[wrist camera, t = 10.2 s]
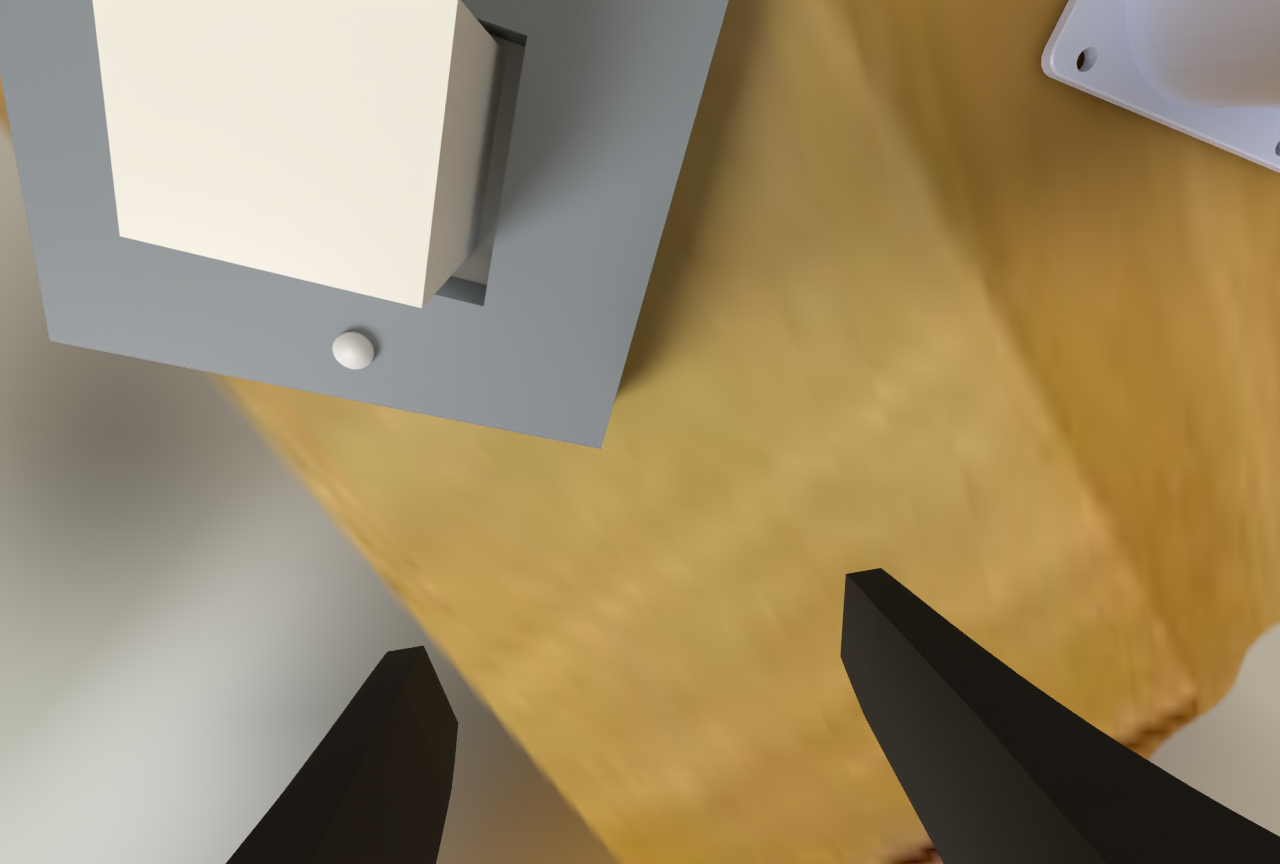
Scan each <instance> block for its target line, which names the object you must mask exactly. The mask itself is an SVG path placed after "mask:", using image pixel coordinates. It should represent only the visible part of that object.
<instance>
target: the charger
mask: <svg viewBox="0 0 1280 864" xmlns="http://www.w3.org/2000/svg"><path fill="white" fill-rule="evenodd" d="M92 1H93V9H94V18H95V27H96V35H97V44H98V52H99V61H100V70H101V78H102V87H103V96H104V104H105V113H106V122H107V130H108V139H109V148H110V156H111V165H112V174H113V182H114V191H115V199H116V208H117V217H118V225H119V234H120V236H121V237H125V238H129V239H134V240H138V241H142V242H146V243H150V244H155V245H159V246H163V247H167V248H171V249H175V250H180V251H184V252H188V253H192V254H196V255H201V256H205V257H209V258H213V259H217V260H222V261H226V262H230V263H234V264H238V265H243V266H247V267H251V268H255V269H259V270H263V271H268V272H272V273H276V274H280V275H284V276H289V277H293V278H297V279H301V280H305V281H310V282H314V283H318V284H322V285H326V286H330V287H335V288H339V289H343V290H347V291H351V292H356V293H360V294H364V295H368V296H372V297H377V298H381V299H385V300H389V301H393V302H398V303H402V304H406V305H410V306H414V307H418V308H423V306H424V305H425V304H426V303H427V302H428V301H429V300H430V299H431V297H432V296H433V295H434V294H435V293H436V292H437V291H438V290H439V289H440V287H441V286H442V285H443V284H444V283H445V282H446V281H447V280H448V279H449V277H450V276H451V275H452V274H453V273H454V272H455V271H456V270H457V269H458V267H459V266H460V265H461V264H462V263H463V262H464V261H465V260H466V259H467V257H468V256H469V255H470V254H471V253H472V252H473V251H474V250H475V249H476V247H477V244H478V237H479V231H480V224H481V217H482V211H483V204H484V198H485V191H486V185H487V178H488V172H489V165H490V159H491V152H492V145H493V139H494V132H495V126H496V119H497V113H498V106H499V100H500V93H501V87H502V80H503V73H504V67H505V60H506V54H505V52H504V51H503V50H502V49H501V48H500V47H499V45H498V44H497V43H496V42H495V41H494V39H493V38H492V37H491V36H490V35H489V33H488V32H487V31H486V30H485V29H484V27H483V26H482V25H481V24H480V23H479V21H478V20H477V19H476V18H475V17H474V15H473V14H472V13H471V12H470V11H469V9H468V8H467V7H466V6H465V5H464V3H463V2H462V1H461V0H92Z"/></svg>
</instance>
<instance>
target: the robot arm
mask: <svg viewBox="0 0 1280 864" xmlns="http://www.w3.org/2000/svg"><path fill="white" fill-rule="evenodd" d="M1082 51H1083V52H1084V56H1085V60H1084V63H1083V65H1082V67H1081V68H1080V69H1079V70H1078V69H1077V64H1076V62H1077V59H1078V56H1079V55H1080V53H1081V52H1082ZM1041 66H1042V69H1043V72H1044V73H1045V74H1046V75H1047V76H1048V77H1050V78H1053V79H1055V80H1057V81H1060V82H1062V83H1065V84H1067V85H1069V86H1072V87H1074V88H1077V89H1079V90H1081V91H1084V92H1086V93H1089V94H1091V95H1093V96H1096V97H1098V98H1101V99H1103V100H1106V101H1108V102H1110V103H1113V104H1115V105H1118V106H1120V107H1122V108H1125V109H1127V110H1130V111H1132V112H1134V113H1137V114H1139V115H1142V116H1144V117H1146V118H1149V119H1151V120H1154V121H1156V122H1158V123H1161V124H1163V125H1166V126H1168V127H1170V128H1173V129H1175V130H1178V131H1180V132H1182V133H1185V134H1187V135H1190V136H1192V137H1194V138H1197V139H1199V140H1202V141H1204V142H1206V143H1209V144H1211V145H1214V146H1216V147H1218V148H1221V149H1223V150H1226V151H1228V152H1230V153H1233V154H1235V155H1238V156H1240V157H1242V158H1245V159H1247V160H1250V161H1252V162H1254V163H1257V164H1259V165H1262V166H1264V167H1266V168H1269V169H1271V170H1274V171H1276V172H1278V173H1280V0H1069V1H1068V3H1067V5H1066V7H1065V9H1064V11H1063V13H1062V15H1061V17H1060V18H1059V20H1058V22H1057V24H1056V26H1055V28H1054V30H1053V32H1052V34H1051V36H1050V38H1049V40H1048V42H1047V44H1046V46H1045V49H1044V52H1043V54H1042V59H1041ZM1278 142H1279V143H1278ZM1277 144H1278V145H1277ZM1276 146H1277V147H1276ZM1275 148H1276V149H1275ZM841 659H842V661H843V664H844V666H845V669H846V672H847V674H848V677H849V679H850V682H851V684H852V687H853V689H854V692H855V694H856V697H857V699H858V701H859V704H860V706H861V709H862V711H863V713H864V716H865V718H866V720H867V721H868V723H869V725H870V727H871V729H872V731H873V733H874V735H875V737H876V739H877V740H878V742H879V744H880V746H881V748H882V750H883V752H884V754H885V755H886V757H887V759H888V761H889V763H890V765H891V767H892V769H893V770H894V772H895V774H896V776H897V778H898V780H899V782H900V783H901V785H902V787H903V789H904V791H905V793H906V794H907V796H908V798H909V800H910V802H911V804H912V806H913V807H914V809H915V811H916V813H917V815H918V817H919V819H920V820H921V822H922V824H923V826H924V828H925V830H926V832H927V833H928V835H929V837H930V839H931V841H932V843H933V845H934V846H935V848H936V850H937V852H938V854H939V856H940V858H941V859H942V861H943V863H944V864H1280V837H1279V836H1277V835H1276V834H1274V833H1272V832H1270V831H1268V830H1266V829H1265V828H1263V827H1261V826H1259V825H1257V824H1256V823H1254V822H1252V821H1250V820H1248V819H1247V818H1245V817H1243V816H1241V815H1239V814H1237V813H1236V812H1234V811H1232V810H1230V809H1229V808H1227V807H1225V806H1223V805H1222V804H1220V803H1218V802H1216V801H1215V800H1213V799H1211V798H1210V797H1208V796H1206V795H1204V794H1203V793H1201V792H1199V791H1197V790H1196V789H1194V788H1192V787H1191V786H1189V785H1187V784H1186V783H1184V782H1182V781H1181V780H1179V779H1177V778H1176V777H1174V776H1172V775H1171V774H1169V773H1167V772H1166V771H1164V770H1163V769H1161V768H1159V767H1158V766H1156V765H1155V764H1153V763H1151V762H1150V761H1148V760H1146V759H1145V758H1143V757H1141V756H1140V755H1138V754H1137V753H1135V752H1133V751H1132V750H1130V749H1128V748H1127V747H1125V746H1124V745H1122V744H1120V743H1119V742H1117V741H1116V740H1114V739H1113V738H1111V737H1109V736H1108V735H1106V734H1105V733H1103V732H1102V731H1100V730H1099V729H1097V728H1096V727H1094V726H1092V725H1091V724H1089V723H1088V722H1086V721H1085V720H1084V719H1082V718H1081V717H1079V716H1078V715H1076V714H1075V713H1073V712H1072V711H1070V710H1069V709H1067V708H1066V707H1065V706H1063V705H1062V704H1060V703H1059V702H1057V701H1056V700H1054V699H1053V698H1051V697H1050V696H1048V695H1047V694H1046V693H1044V692H1043V691H1041V690H1040V689H1038V688H1037V687H1036V686H1034V685H1033V684H1031V683H1030V682H1029V681H1027V680H1026V679H1024V678H1023V677H1022V676H1020V675H1019V674H1017V673H1016V672H1015V671H1013V670H1012V669H1011V668H1009V667H1008V666H1007V665H1005V664H1004V663H1003V662H1001V661H1000V660H999V659H997V658H996V657H995V656H993V655H992V654H991V653H989V652H988V651H987V650H985V649H984V648H983V647H981V646H980V645H978V644H977V643H976V642H975V641H973V640H972V639H971V638H969V637H968V636H967V635H965V634H964V633H963V632H961V631H960V630H959V629H958V628H956V627H955V626H954V625H952V624H951V623H950V622H949V621H947V620H946V619H945V618H944V617H942V616H941V615H940V614H938V613H937V612H936V611H935V610H933V609H932V608H931V607H930V606H928V605H927V604H926V603H925V602H923V601H922V600H921V599H920V598H918V597H917V596H916V595H915V594H913V593H912V592H911V591H910V590H908V589H907V588H906V587H904V586H903V585H902V584H901V583H899V582H898V581H897V580H896V579H894V578H893V577H892V576H891V575H889V574H888V573H887V572H885V571H884V570H883V569H881V568H878V569H872V570H867V571H861V572H855V573H849V574H846V581H845V596H844V611H843V626H842V641H841ZM457 730H458V722H457V719H456V717H455V715H454V713H453V710H452V708H451V706H450V704H449V701H448V699H447V697H446V695H445V693H444V690H443V688H442V686H441V683H440V681H439V679H438V677H437V674H436V672H435V670H434V668H433V665H432V663H431V661H430V659H429V657H428V654H427V652H426V650H425V648H424V646H419V647H413V648H407V649H401V650H395V651H389V652H387V653H386V654H385V655H384V657H383V658H382V659H381V661H380V662H379V663H378V665H377V666H376V667H375V669H374V670H373V671H372V673H371V674H370V675H369V677H368V678H367V679H366V681H365V682H364V684H363V685H362V686H361V688H360V689H359V690H358V692H357V693H356V695H355V696H354V697H353V699H352V700H351V702H350V703H349V704H348V706H347V707H346V708H345V710H344V711H343V713H342V714H341V715H340V717H339V718H338V719H337V721H336V722H335V724H334V725H333V726H332V728H331V729H330V730H329V732H328V733H327V734H326V736H325V737H324V738H323V740H322V741H321V742H320V744H319V745H318V747H317V748H316V749H315V751H314V752H313V753H312V754H311V756H310V757H309V758H308V760H307V761H306V762H305V764H304V765H303V767H302V768H301V769H300V770H299V772H298V773H297V774H296V776H295V777H294V778H293V780H292V781H291V783H290V784H289V785H288V786H287V788H286V789H285V790H284V792H283V793H282V794H281V795H280V797H279V798H278V799H277V801H276V802H275V803H274V804H273V806H272V807H271V808H270V809H269V811H268V812H267V813H266V814H265V816H264V817H263V818H262V819H261V821H260V822H259V823H258V824H257V826H256V827H255V828H254V829H253V830H252V832H251V833H250V834H249V835H248V837H247V838H246V839H245V840H244V842H243V843H242V844H241V845H240V847H239V848H238V849H237V850H236V852H235V853H234V854H233V855H232V857H231V858H230V859H229V860H228V862H227V863H226V864H436V861H437V856H438V852H439V847H440V842H441V838H442V833H443V827H444V823H445V819H446V814H447V809H448V804H449V799H450V794H451V789H452V780H453V771H454V763H455V752H456V741H457Z"/></svg>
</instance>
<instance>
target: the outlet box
mask: <svg viewBox="0 0 1280 864" xmlns="http://www.w3.org/2000/svg"><path fill="white" fill-rule="evenodd" d="M461 1H462V2H463V3H464V5H465V6H466V7H467V8H468V9H469V11H470V12H471V13H472V14H473V15H474V17H475V18H476V19H477V20H478V21H479V23H480V24H481V25H482V26H483V27H484V29H485V30H486V31H487V32H488V33H489V35H490V36H491V37H492V38H493V39H494V41H495V42H496V43H497V44H498V45H499V47H500V48H501V49H502V50H503V51H504V52H505V54H506V60H505V67H504V73H503V80H502V87H501V93H500V100H499V106H498V113H497V119H496V126H495V132H494V139H493V145H492V152H491V159H490V165H489V172H488V178H487V185H486V191H485V198H484V204H483V211H482V217H481V224H480V231H479V237H478V244H477V247H476V249H475V250H474V251H473V252H472V253H471V254H470V255H469V256H468V257H467V259H466V260H465V261H464V262H463V263H462V264H461V265H460V266H459V267H458V269H457V270H456V271H455V272H454V273H453V274H452V275H451V276H450V277H449V279H448V280H447V281H446V282H445V283H444V284H443V285H442V286H441V287H440V289H439V290H438V291H437V292H436V293H435V294H434V295H433V296H432V297H431V299H430V300H429V301H428V302H427V303H426V304H425V305H424V306H423V308H418V307H414V306H410V305H406V304H402V303H398V302H393V301H389V300H385V299H381V298H377V297H372V296H368V295H364V294H360V293H356V292H351V291H347V290H343V289H339V288H335V287H330V286H326V285H322V284H318V283H314V282H310V281H305V280H301V279H297V278H293V277H289V276H284V275H280V274H276V273H272V272H268V271H263V270H259V269H255V268H251V267H247V266H243V265H238V264H234V263H230V262H226V261H222V260H217V259H213V258H209V257H205V256H201V255H196V254H192V253H188V252H184V251H180V250H175V249H171V248H167V247H163V246H159V245H155V244H150V243H146V242H142V241H138V240H134V239H129V238H125V237H121V236H120V234H119V225H118V217H117V208H116V199H115V191H114V182H113V174H112V165H111V156H110V148H109V139H108V130H107V122H106V113H105V104H104V96H103V87H102V78H101V70H100V61H99V52H98V44H97V35H96V27H95V18H94V9H93V1H92V0H0V77H1V82H2V87H3V93H4V98H5V103H6V109H7V114H8V120H9V125H10V130H11V136H12V141H13V146H14V152H15V157H16V162H17V168H18V173H19V178H20V184H21V189H22V194H23V200H24V205H25V210H26V216H27V221H28V226H29V231H30V237H31V243H32V248H33V253H34V259H35V264H36V269H37V274H38V279H39V285H40V290H41V296H42V301H43V306H44V312H45V317H46V322H47V328H48V333H49V339H50V341H54V342H59V343H64V344H69V345H74V346H79V347H84V348H89V349H94V350H99V351H104V352H110V353H115V354H120V355H125V356H130V357H135V358H140V359H145V360H150V361H155V362H160V363H166V364H171V365H176V366H181V367H186V368H191V369H196V370H201V371H206V372H211V373H217V374H222V375H227V376H232V377H237V378H242V379H247V380H252V381H257V382H262V383H268V384H273V385H278V386H283V387H288V388H293V389H298V390H303V391H308V392H313V393H319V394H324V395H329V396H334V397H339V398H344V399H349V400H354V401H359V402H364V403H370V404H375V405H380V406H385V407H390V408H395V409H400V410H405V411H410V412H415V413H420V414H426V415H431V416H436V417H441V418H446V419H451V420H456V421H461V422H466V423H471V424H477V425H482V426H487V427H492V428H497V429H502V430H507V431H512V432H517V433H522V434H528V435H533V436H538V437H543V438H548V439H553V440H558V441H563V442H568V443H573V444H579V445H584V446H589V447H594V448H599V449H601V446H602V443H603V439H604V436H605V432H606V428H607V425H608V421H609V418H610V414H611V411H612V407H613V404H614V400H615V397H616V393H617V390H618V386H619V383H620V379H621V376H622V372H623V369H624V365H625V362H626V358H627V355H628V351H629V348H630V344H631V341H632V337H633V334H634V330H635V327H636V323H637V320H638V316H639V313H640V309H641V306H642V302H643V299H644V295H645V292H646V288H647V285H648V281H649V278H650V274H651V271H652V267H653V264H654V260H655V257H656V253H657V250H658V246H659V243H660V239H661V236H662V232H663V229H664V225H665V222H666V218H667V215H668V211H669V208H670V204H671V201H672V197H673V194H674V190H675V187H676V183H677V180H678V176H679V173H680V169H681V166H682V162H683V159H684V155H685V152H686V148H687V145H688V141H689V138H690V134H691V131H692V127H693V124H694V120H695V117H696V113H697V110H698V106H699V103H700V99H701V96H702V92H703V89H704V85H705V82H706V78H707V75H708V71H709V68H710V64H711V61H712V57H713V54H714V50H715V47H716V43H717V40H718V36H719V33H720V29H721V26H722V22H723V19H724V15H725V12H726V8H727V5H728V1H729V0H461Z"/></svg>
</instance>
